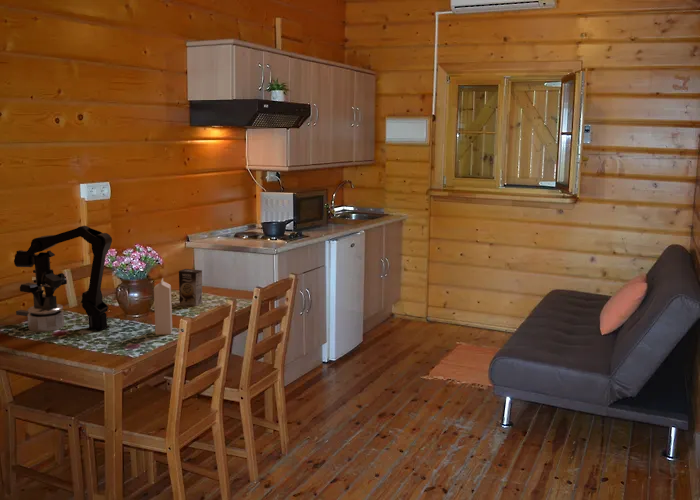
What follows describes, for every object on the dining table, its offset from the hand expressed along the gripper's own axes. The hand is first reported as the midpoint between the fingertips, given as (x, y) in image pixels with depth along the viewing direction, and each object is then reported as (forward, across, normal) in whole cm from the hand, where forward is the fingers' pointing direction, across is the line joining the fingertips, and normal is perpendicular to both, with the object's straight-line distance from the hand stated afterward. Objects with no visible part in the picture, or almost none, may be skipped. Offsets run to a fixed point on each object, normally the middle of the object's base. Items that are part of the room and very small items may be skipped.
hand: (45, 304), depth 276 cm
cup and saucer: (+3, 0, 0) cm, 3 cm away
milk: (+10, +16, -48) cm, 51 cm away
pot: (+9, 0, +4) cm, 10 cm away
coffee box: (+10, +58, -28) cm, 65 cm away
